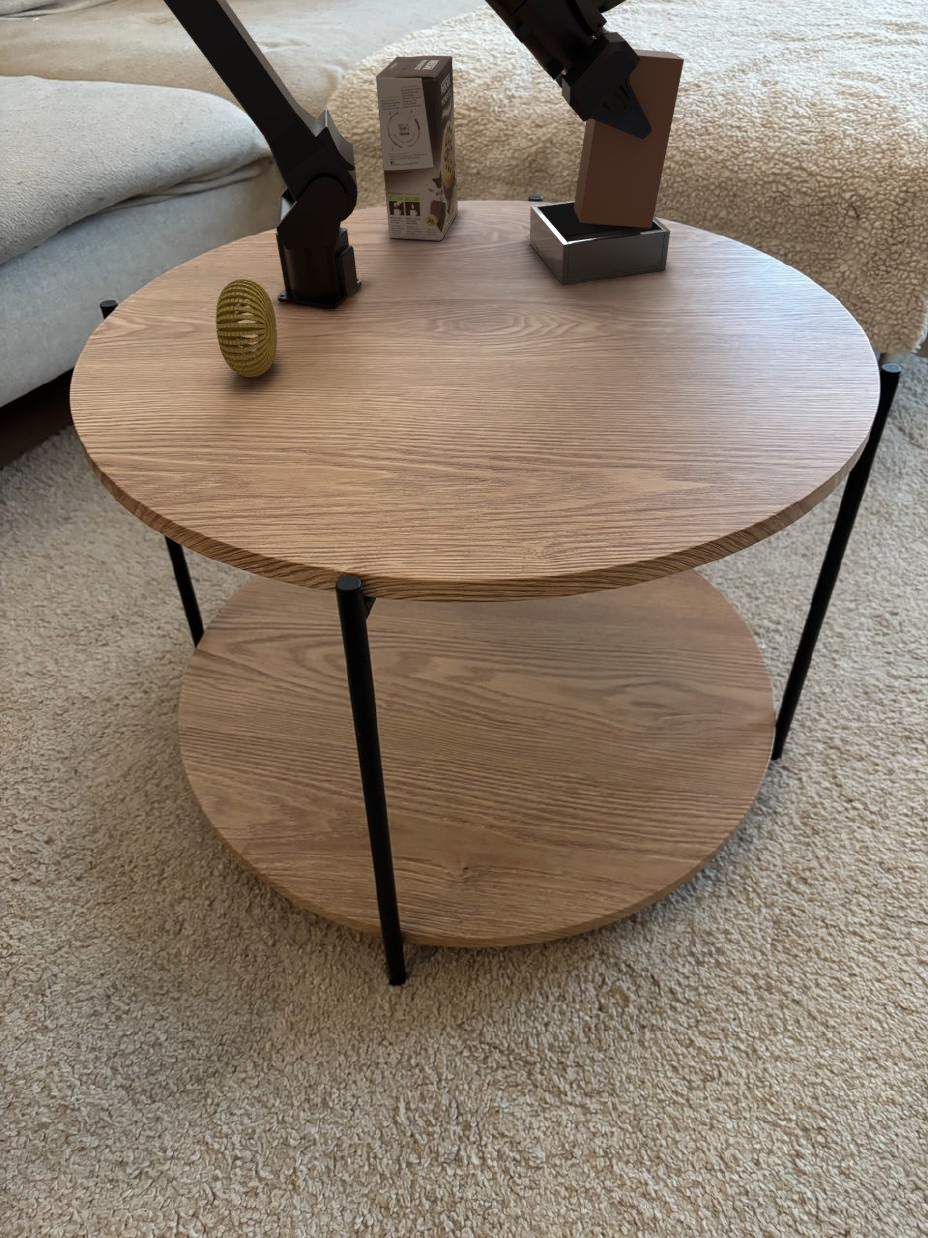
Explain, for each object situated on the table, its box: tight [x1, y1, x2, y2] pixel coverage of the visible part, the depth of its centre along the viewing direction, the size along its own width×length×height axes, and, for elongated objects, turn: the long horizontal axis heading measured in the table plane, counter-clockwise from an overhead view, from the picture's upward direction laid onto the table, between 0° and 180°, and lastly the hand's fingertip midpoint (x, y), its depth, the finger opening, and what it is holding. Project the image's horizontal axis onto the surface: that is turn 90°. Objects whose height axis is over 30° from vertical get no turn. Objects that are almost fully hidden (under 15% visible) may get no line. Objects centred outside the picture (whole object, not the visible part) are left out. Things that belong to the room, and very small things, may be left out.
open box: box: [529, 199, 671, 285], centre depth 95 cm, size 11×11×4 cm
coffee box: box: [375, 55, 459, 242], centre depth 98 cm, size 9×6×16 cm
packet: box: [574, 48, 685, 228], centre depth 85 cm, size 7×5×14 cm
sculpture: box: [215, 278, 278, 378], centre depth 77 cm, size 8×4×8 cm, turn 179°
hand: (639, 125), depth 84 cm, fingers closed on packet, 5 cm apart
